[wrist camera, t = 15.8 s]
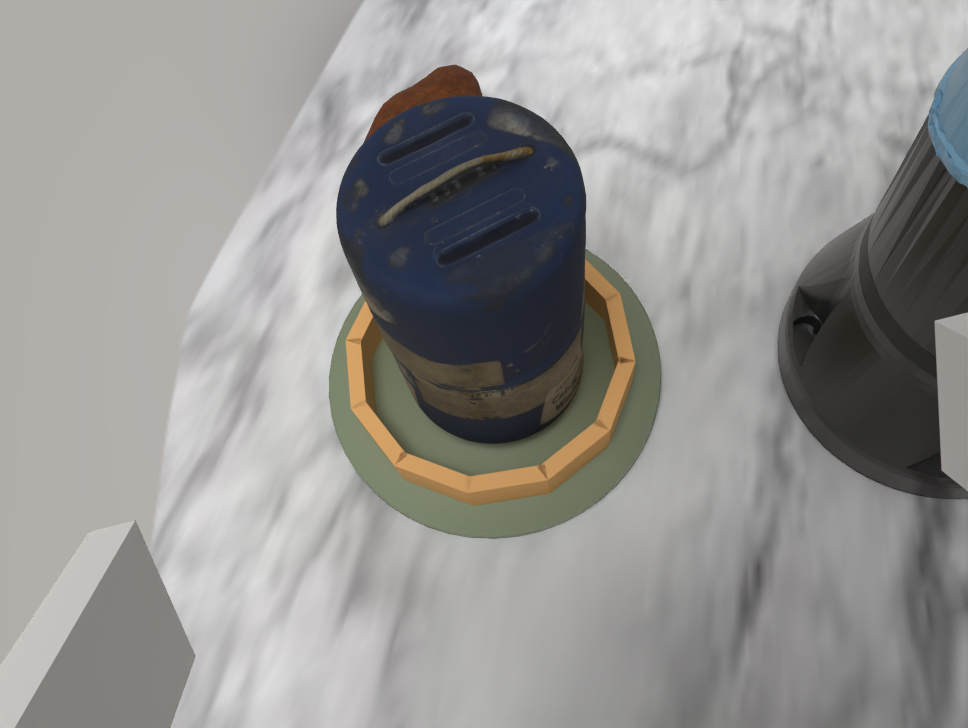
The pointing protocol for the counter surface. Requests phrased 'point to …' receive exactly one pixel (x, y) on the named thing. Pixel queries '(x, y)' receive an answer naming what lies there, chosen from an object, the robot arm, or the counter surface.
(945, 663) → the counter surface
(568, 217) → the canister
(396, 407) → the green orange round dish
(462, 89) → the potato
